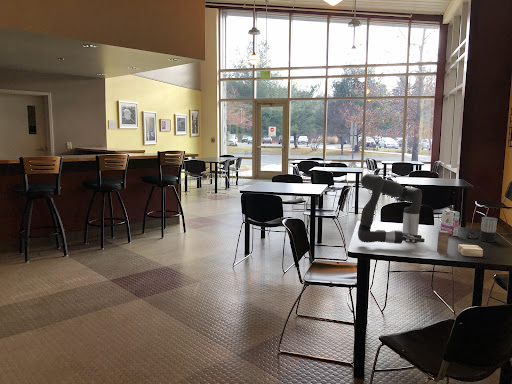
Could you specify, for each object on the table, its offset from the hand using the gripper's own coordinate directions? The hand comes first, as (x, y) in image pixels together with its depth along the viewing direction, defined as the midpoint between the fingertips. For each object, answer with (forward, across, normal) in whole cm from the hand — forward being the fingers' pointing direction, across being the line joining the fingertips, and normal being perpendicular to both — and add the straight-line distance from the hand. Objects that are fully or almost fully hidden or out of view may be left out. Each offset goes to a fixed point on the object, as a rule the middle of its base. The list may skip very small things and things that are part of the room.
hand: (422, 238), depth 238 cm
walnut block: (+11, 0, +7) cm, 13 cm away
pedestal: (+26, +1, +7) cm, 27 cm away
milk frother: (+44, +43, +7) cm, 62 cm away
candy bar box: (+28, +53, +7) cm, 60 cm away
